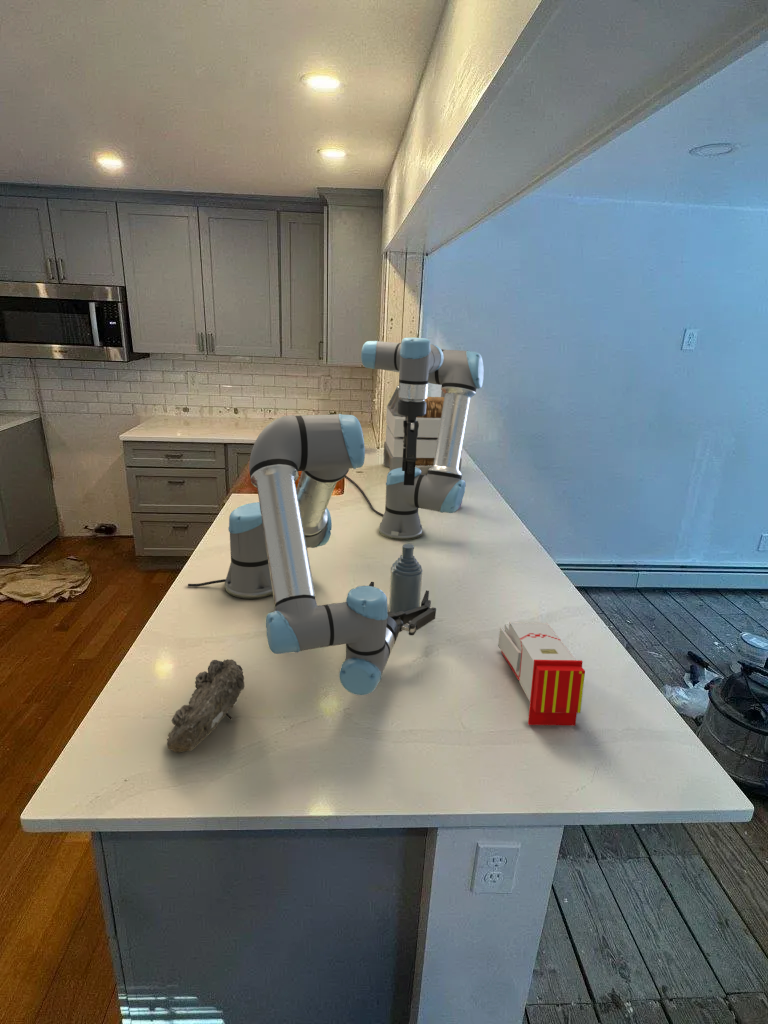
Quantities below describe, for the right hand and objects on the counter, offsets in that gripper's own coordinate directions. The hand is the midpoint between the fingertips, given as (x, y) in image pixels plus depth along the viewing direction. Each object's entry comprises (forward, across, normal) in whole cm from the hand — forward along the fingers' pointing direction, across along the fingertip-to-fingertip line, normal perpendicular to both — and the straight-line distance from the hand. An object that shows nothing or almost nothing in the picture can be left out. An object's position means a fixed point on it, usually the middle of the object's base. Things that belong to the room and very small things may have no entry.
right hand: (407, 477), depth 155 cm
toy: (+31, +47, +27) cm, 62 cm away
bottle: (+31, +18, 0) cm, 36 cm away
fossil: (+31, +61, -38) cm, 78 cm away
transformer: (+31, -116, +12) cm, 121 cm away
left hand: (+21, +26, -2) cm, 34 cm away
